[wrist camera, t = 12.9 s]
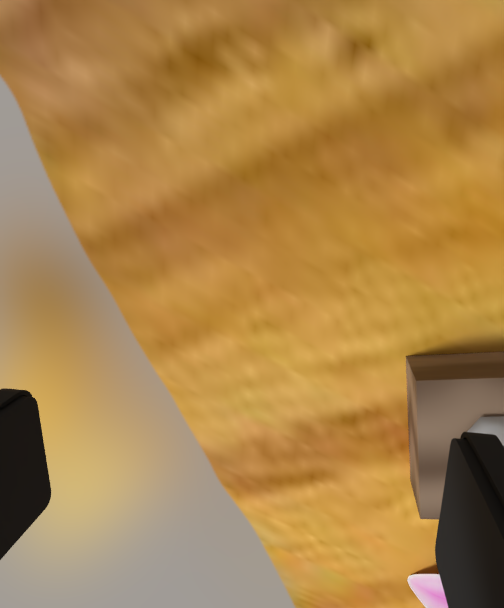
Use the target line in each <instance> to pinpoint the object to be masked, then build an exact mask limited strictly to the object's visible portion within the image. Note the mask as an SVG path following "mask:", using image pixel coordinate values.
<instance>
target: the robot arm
mask: <svg viewBox="0 0 504 608" xmlns="http://www.w3.org/2000/svg"><path fill="white" fill-rule="evenodd" d="M50 497H51V488H50V481H49V474H48V468H47V462H46V455H45V449H44V443H43V436H42V430H41V423H40V418H39V411H38V405H37V401H36V399H35V398H33V397H32V395H31V394H30V392H28V391H26V390H16V389H1V390H0V560H1V558H2V557H3V556H4V555H5V554H6V553H7V552H8V550H9V549H10V548H11V547H12V546H13V545H14V543H15V542H16V541H17V540H18V539H19V538H20V537H21V536H22V535H23V533H24V532H25V531H26V530H27V529H28V528H29V527H30V526H31V524H32V523H33V522H34V521H35V520H36V519H37V518H38V516H39V515H40V514H41V513H42V512H43V510H45V508H46V507H47V505H48V503H49V501H50ZM435 554H436V563H437V568H438V571H439V575H440V579H441V582H442V586H443V590H444V593H445V597H446V601H447V604H448V608H504V446H503V445H502V443H501V441H500V440H499V438H498V437H497V436H496V435H493V434H484V433H473V432H463V433H462V435H461V437H460V439H459V438H453V439H452V440H451V444H450V450H449V457H448V463H447V470H446V477H445V484H444V491H443V497H442V504H441V511H440V518H439V525H438V531H437V538H436V546H435Z"/></svg>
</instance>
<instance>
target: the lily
mask: <svg viewBox="0 0 504 608" xmlns="http://www.w3.org/2000/svg"><path fill="white" fill-rule="evenodd" d="M407 581H408V584H409V585H410V587H411V589H412V590H413V592H414V593H415V594H416V596H417V597H418V599H419V600H420V601H421V602H422V603H423V605H424V606H425V607H426V608H448V604H447V601H446V597H445V593H444V590H443V586H442V582H441V579H440V575H439V574H413V575H410V576H409V577H408V579H407Z"/></svg>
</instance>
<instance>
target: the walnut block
mask: <svg viewBox="0 0 504 608" xmlns="http://www.w3.org/2000/svg"><path fill="white" fill-rule="evenodd" d="M406 374H407V401H408V427H409V453H410V479H411V484H412V488H413V492H414V496H415V500H416V503H417V507H418V511H419V515H420V519H439V518H440V511H441V504H442V497H443V491H444V484H445V477H446V470H447V463H448V457H449V450H450V444H451V440H452V439H453V438H459V439H460V437H461V435H462V433H463V432H467V431H468V430H469V429H470V428H471V427H472V426H473V425H474V424H475V423H476V422H477V420H478V419H479V418H480V417H500V416H504V352H484V353H463V354H441V355H420V356H406Z"/></svg>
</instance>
